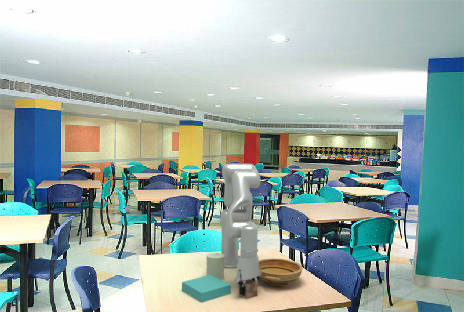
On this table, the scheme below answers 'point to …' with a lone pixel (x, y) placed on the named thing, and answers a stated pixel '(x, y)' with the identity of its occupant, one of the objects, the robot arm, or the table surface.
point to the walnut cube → (250, 289)
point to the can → (215, 265)
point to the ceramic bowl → (279, 271)
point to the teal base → (206, 288)
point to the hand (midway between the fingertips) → (248, 292)
